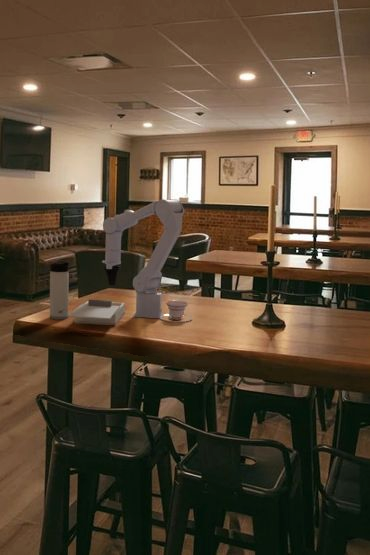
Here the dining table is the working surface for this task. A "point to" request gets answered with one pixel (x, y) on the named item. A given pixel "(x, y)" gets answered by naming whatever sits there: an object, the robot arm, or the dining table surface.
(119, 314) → the box
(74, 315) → the lid
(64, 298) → the travel mug
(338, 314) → the dining table surface
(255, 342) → the dining table surface
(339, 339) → the dining table surface
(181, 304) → the teacup
